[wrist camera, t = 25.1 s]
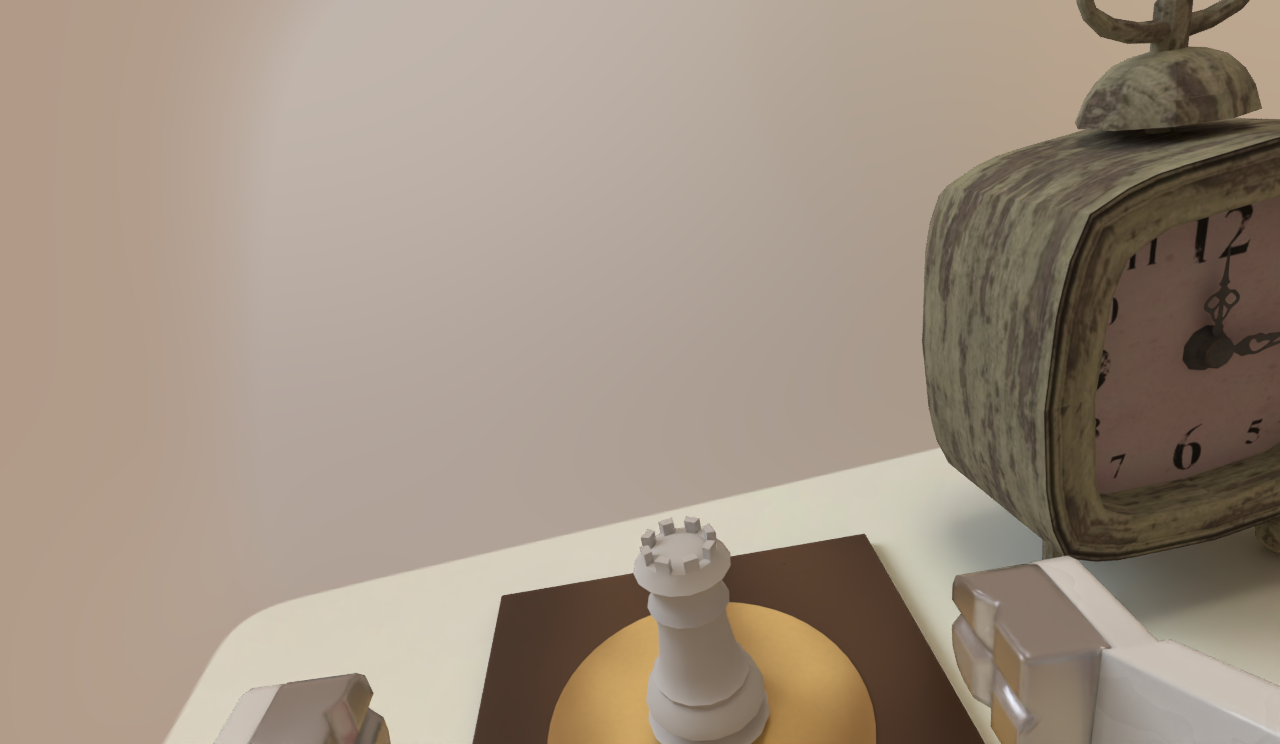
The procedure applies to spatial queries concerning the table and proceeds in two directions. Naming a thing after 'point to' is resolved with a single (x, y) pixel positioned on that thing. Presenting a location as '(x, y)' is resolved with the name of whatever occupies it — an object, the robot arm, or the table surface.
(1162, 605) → the table surface
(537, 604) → the brown flat square panel
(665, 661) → the rook chess piece
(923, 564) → the table surface
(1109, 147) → the tabletop clock
